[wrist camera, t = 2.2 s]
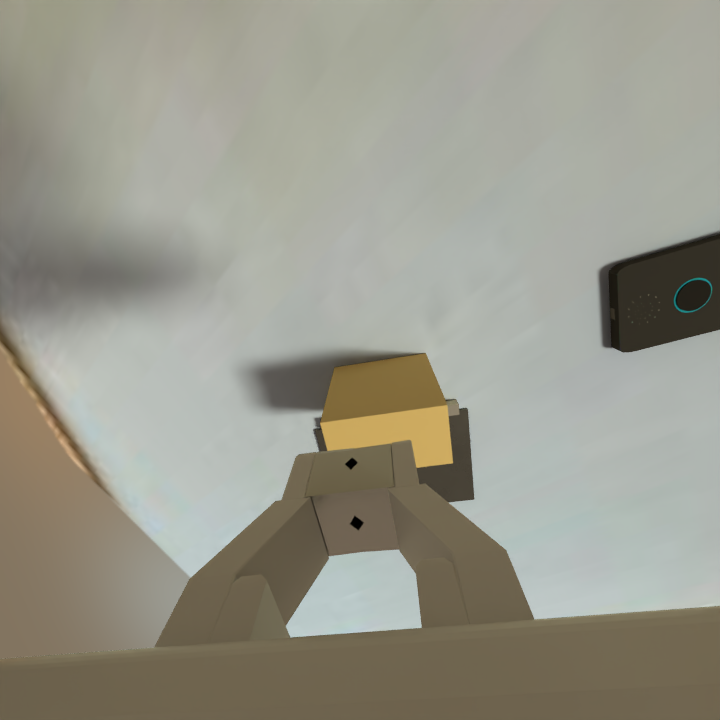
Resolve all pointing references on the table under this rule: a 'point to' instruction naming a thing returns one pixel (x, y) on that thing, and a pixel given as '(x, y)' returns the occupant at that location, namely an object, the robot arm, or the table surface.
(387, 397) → the mustard block
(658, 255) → the smart home device
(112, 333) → the table surface
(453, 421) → the topple stop
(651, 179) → the table surface
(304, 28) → the table surface
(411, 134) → the table surface
